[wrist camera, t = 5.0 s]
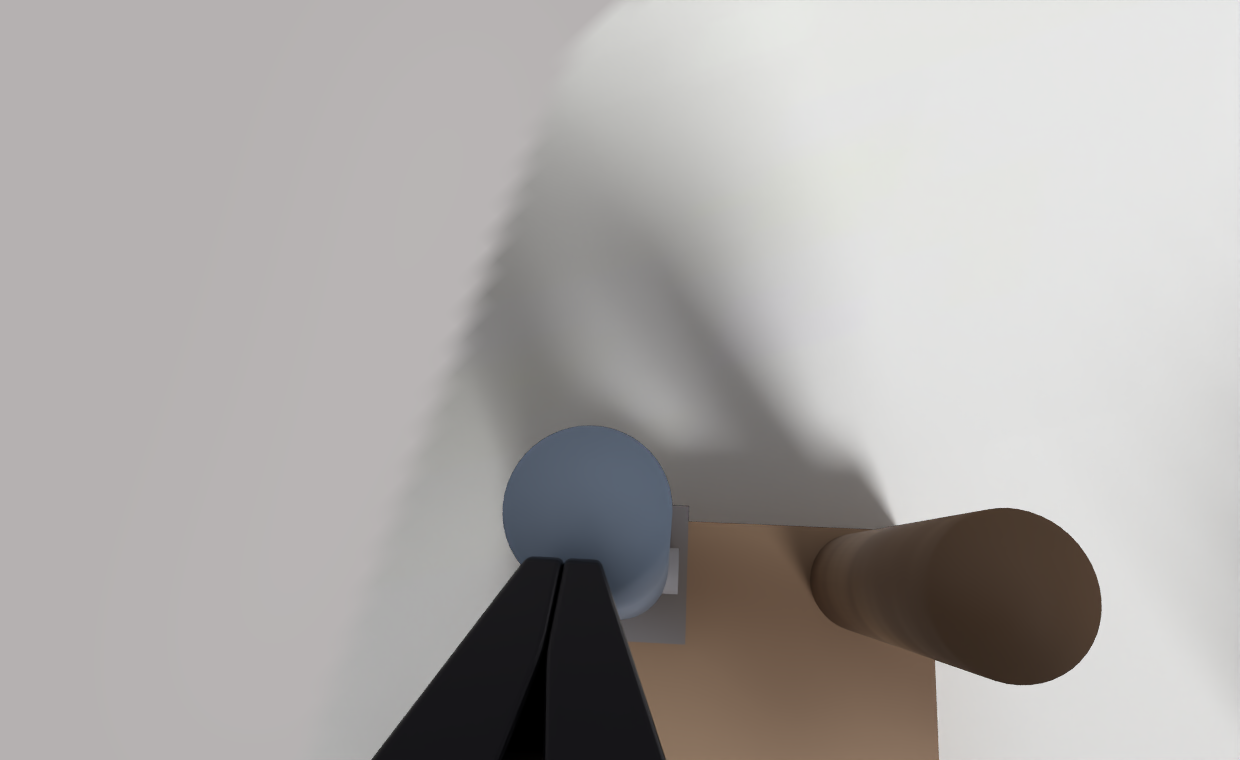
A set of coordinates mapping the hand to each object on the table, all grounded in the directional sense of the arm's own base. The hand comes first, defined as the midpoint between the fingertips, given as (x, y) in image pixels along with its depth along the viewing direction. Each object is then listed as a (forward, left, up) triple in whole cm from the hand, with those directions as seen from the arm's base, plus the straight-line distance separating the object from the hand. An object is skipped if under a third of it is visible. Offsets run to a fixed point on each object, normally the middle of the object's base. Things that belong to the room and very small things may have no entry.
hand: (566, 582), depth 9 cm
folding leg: (0, 0, -8) cm, 8 cm away
